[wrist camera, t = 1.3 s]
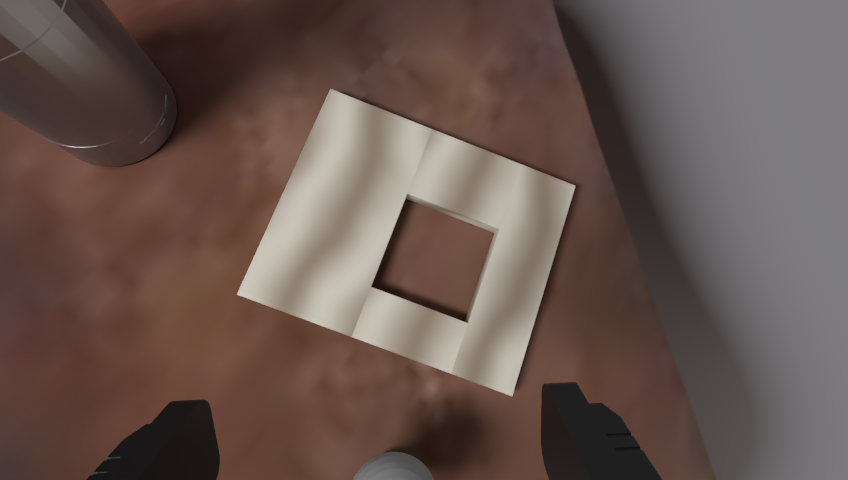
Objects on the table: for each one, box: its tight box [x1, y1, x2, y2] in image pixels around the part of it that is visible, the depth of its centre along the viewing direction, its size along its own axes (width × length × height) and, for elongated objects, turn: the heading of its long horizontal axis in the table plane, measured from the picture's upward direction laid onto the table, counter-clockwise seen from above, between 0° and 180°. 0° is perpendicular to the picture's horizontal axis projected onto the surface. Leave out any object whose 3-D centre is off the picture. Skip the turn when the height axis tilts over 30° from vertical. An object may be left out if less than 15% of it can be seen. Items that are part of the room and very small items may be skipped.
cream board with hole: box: [237, 89, 575, 396], centre depth 38 cm, size 22×18×2 cm
